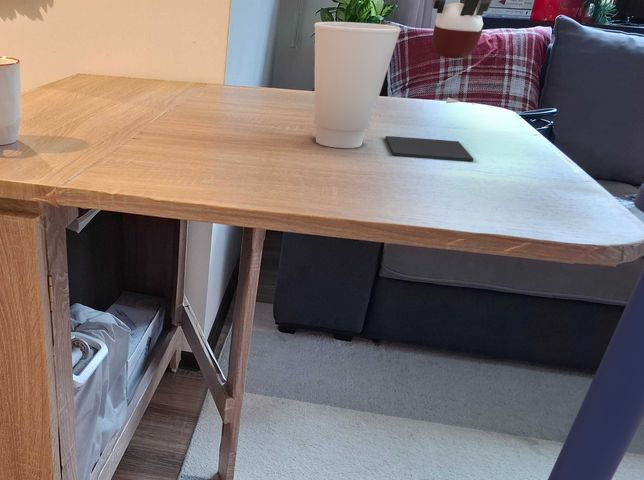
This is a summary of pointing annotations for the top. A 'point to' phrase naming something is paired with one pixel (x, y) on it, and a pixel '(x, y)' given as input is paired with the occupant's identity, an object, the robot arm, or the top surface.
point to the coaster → (428, 148)
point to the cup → (349, 78)
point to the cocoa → (457, 30)
